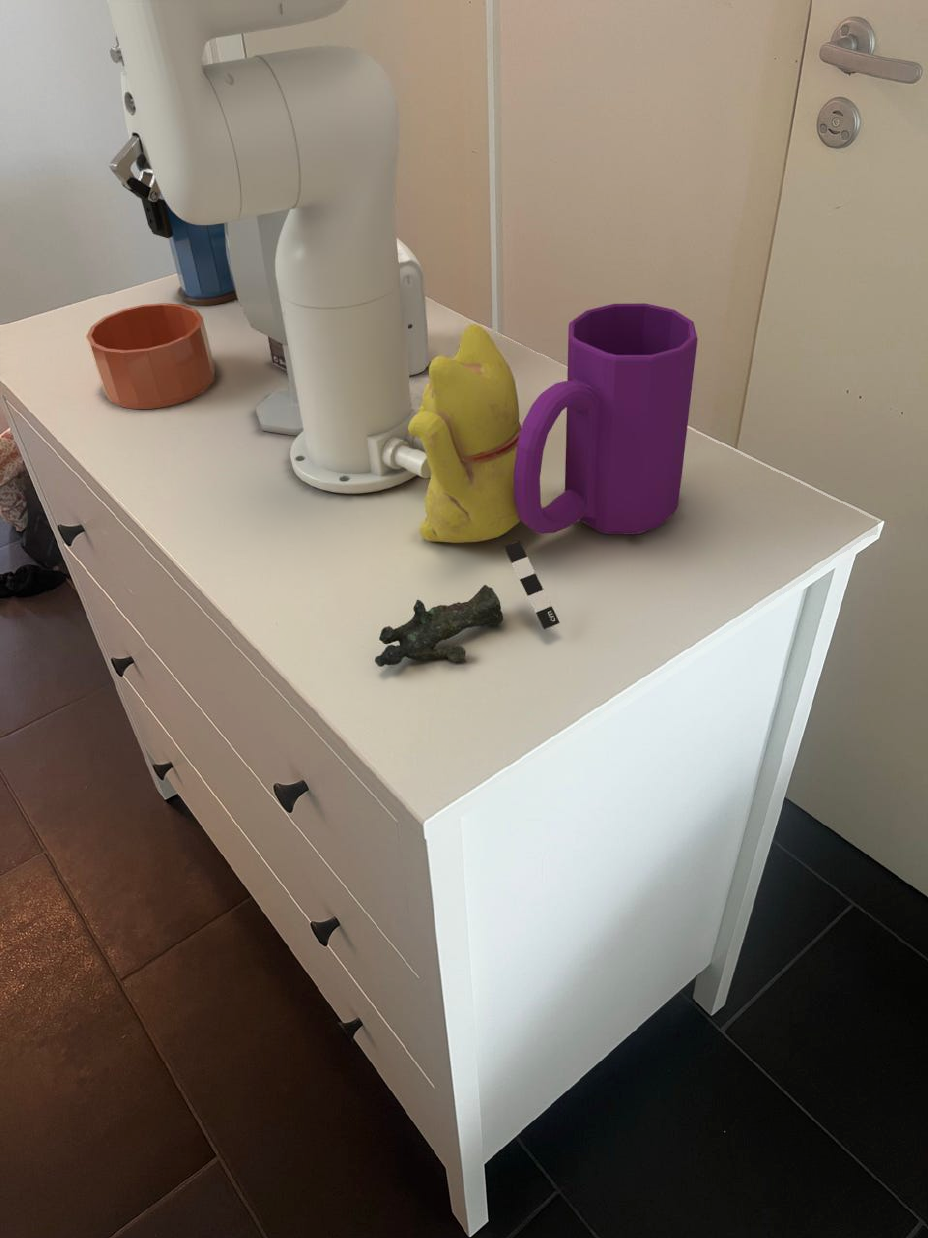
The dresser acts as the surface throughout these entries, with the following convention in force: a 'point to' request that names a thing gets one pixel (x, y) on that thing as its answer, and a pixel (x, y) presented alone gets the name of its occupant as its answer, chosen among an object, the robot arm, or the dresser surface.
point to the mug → (613, 422)
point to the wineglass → (263, 305)
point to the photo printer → (413, 310)
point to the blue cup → (200, 257)
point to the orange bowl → (152, 355)
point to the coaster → (206, 300)
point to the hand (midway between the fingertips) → (197, 222)
